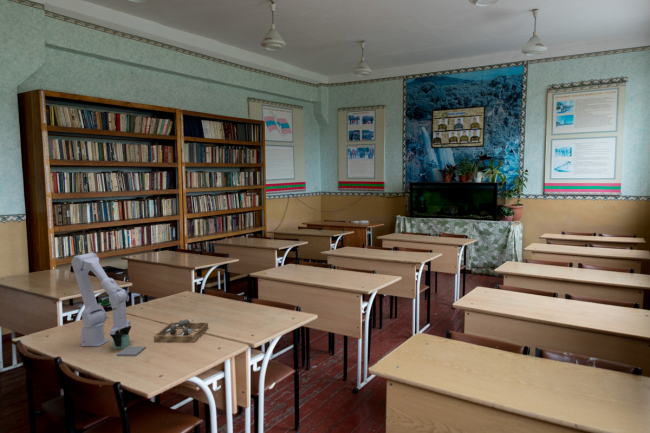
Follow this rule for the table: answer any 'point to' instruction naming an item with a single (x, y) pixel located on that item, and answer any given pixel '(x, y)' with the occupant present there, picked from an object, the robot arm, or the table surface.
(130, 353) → the mat
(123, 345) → the cube
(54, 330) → the table surface
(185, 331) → the molecule model
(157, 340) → the display frame
